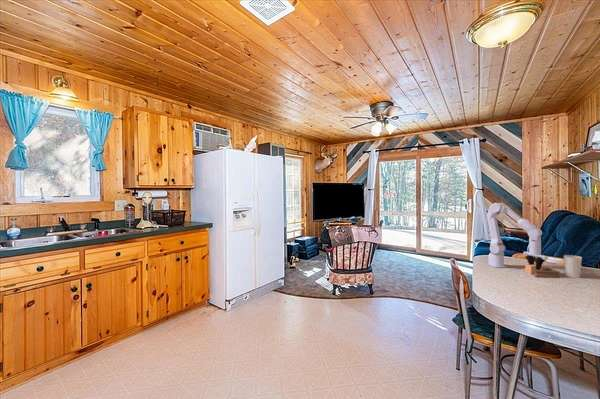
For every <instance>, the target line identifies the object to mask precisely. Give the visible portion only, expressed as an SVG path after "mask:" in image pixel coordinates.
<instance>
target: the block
mask: <svg viewBox="0 0 600 399" xmlns="http://www.w3.org/2000/svg"><path fill="white" fill-rule="evenodd" d="M543 266H544V265H542V266H541V269H540V270H537V269H536V263H534V265H529V264H525V272H526V274H528V273H529V274H528V275H535V271H543Z"/></svg>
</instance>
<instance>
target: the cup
mask: <svg viewBox="0 0 600 399" xmlns="http://www.w3.org/2000/svg"><path fill="white" fill-rule="evenodd" d="M582 260H583V257H582V256H578V255H572V254H564V255H563V262H564V264H563V265H564V273H565V274H564V276H566V277H569V278H575V279H580V277H581V268H582Z"/></svg>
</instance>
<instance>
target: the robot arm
mask: <svg viewBox="0 0 600 399" xmlns="http://www.w3.org/2000/svg"><path fill="white" fill-rule="evenodd" d="M500 214H506V215H508V216H509V217H510V218H511V219H513V220H514V221H516V223H517V225H518V226H519V228H520V229H522V230H523V231H525V232H526V233H527V235H528V237H529V239H528V246H529V247H528V251H523V255H524V257H525V259H526V261H527V263H528V265H534V264H536V269H537V270H540V269H541V266H543V263H544V262H545V261H547V260H548V256H547V255H544V254H542V237H541V236H542V235H543V231H542V230H541V228H540V227H537V226H536V225H534V224H533V223H531V222H530V220H529V219H526V218H522V217H520V215H519V214H517V213H516V212H515V211H514V210H513V209H512V208H511V207H509V206H508V205H506V203H504V202H494V203H492V204H491V205H490V206H489V207H488V211H487V213H486V218H487V219H486V220H487V223H488V228H489V234H490V240H491V241H490V243H489V244H490V245H489V251H490V252H489V254H488V257H487V258H488V263H487V265H489V266H490V267H493V268H495V269H496V268H503V269H505V268H506V269H507V268H508V266H506V265H505V253H504V252H505V251H506V246H505V245H504V243H503V240H502V239H501V235H500V230H499V229H500V228H499V225H498V224H499V223H498V219H497V218H498V216H499V215H500Z"/></svg>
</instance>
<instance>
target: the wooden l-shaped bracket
mask: <svg viewBox="0 0 600 399" xmlns="http://www.w3.org/2000/svg"><path fill="white" fill-rule="evenodd" d="M542 266H543V271H535V274H534V277H535V278H558V279H559V278H560V277H561V275H560V274H561V273H560V271H558V270H555V269H553V268H550V267H547V266H544V265H542Z"/></svg>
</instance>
